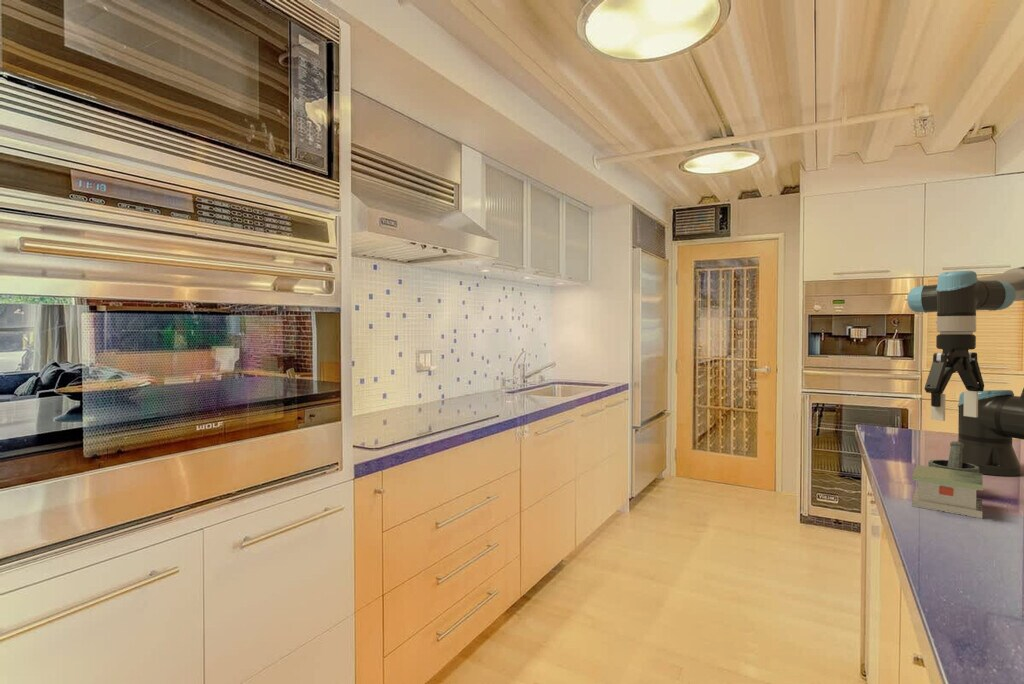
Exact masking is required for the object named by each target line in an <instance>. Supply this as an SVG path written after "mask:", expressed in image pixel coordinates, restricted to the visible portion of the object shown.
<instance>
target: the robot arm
mask: <svg viewBox="0 0 1024 684" xmlns="http://www.w3.org/2000/svg"><path fill="white" fill-rule="evenodd" d="M936 283H937V284H930V285H927V284H925V285H920V286H915V287H912V288H911V289H910V290H909V292H908V295H907V304H908V308H909V309H910V310H912V311H913V312H914V313H915V312H916V313H925V314H927V313H936V320H935V324H936V331H937V333H939V334H937V335H935V336H936V338H935V339H936V341H935V343H936V346H935V348H937V349H938V350H941V351H942V352H934V353H933V356H932V363H931V367H930V370H929V373H928V375H927V378H926V382H925V384H924V385H925V386H924V391H925V392H926V393H928V394H930V420H934V421H940V422H945V421H946V394H945V393H944V391H945V389H946V387H947V385H948V384H949V381H950V380H951V378H952V376H953V374H954V373H956V372H957V373H958V375H959V378H960V379H961V381H962V384H963V385H964V387H965V390H963V391H962V392H961V393H960V394H959V398H958V405H957V407H958V421H957V422H958V425H957V426H958V431H957V432H958V435H957V436H958V439H957V442H961V443H963V444H964V448H963V452H962V462H964V463H969V464H973V465H976V466H978V467H979V473H981V474H982V475H983V474H984V475H989V476H1000V477H1001V476H1002V477H1006V476H1007V477H1010V476H1011V477H1014V476H1019V475H1021V463H1020V461H1019V459H1018V457H1017V454H1016V451H1015V449H1014V446H1013V439H1018V440H1024V387H1023V389H1022V391H1021V394H1020V395H1019V396H1018V395H1015V394H1014V391H1013V390H1012V389H999V390H998V389H992V390H985V384H984V380H983V376H982V372H981V369H980V365H979V361H978V353H977V352H974V351H973V352H972V351H971V350H975V349H976V347H977V336H976V335H975V334H974V333H976V332H977V311H989V312H991V311H1002V310H1004V309H1007V308H1009V307H1010V306H1012V305H1013V304H1014V302H1020V301H1024V266H1020V267H1016V268H1011V269H1008V270H1006V271H1004V272H1003V273H999V274H993V275H987V276H986V275H985V276H981V277H978V275H977V272H975V271H974V270H953V271H946V272H941V273H940V274H939V275H938V277H937V282H936ZM969 350H970V351H971V352H969Z"/></svg>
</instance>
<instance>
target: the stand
mask: <svg viewBox="0 0 1024 684" xmlns="http://www.w3.org/2000/svg"><path fill="white" fill-rule="evenodd" d="M911 476H912V478H911V480H912V481H916V482H917V487H916V488H915V491H914V494H913V497H912V498H911V507H914V508H919V509H920V508H921V509H926V510H931V509H932V511H937V510H940V511H939V512H942V511H945V512H944V513H948V512H951V513H950V514H954V513H956V514H955V515H959V514H961V515H960V516H965V515H967V516H966V517H971V518H977V519H983V498H982V497H977V491H982V492H983V491H984V485H983V483H984V482H983V480H984V479H983V474H981V473H973V472H966V471H958V470H951V469H943V468H936V467H929V466H928V465H919V464H917V465H915V468H914V470H913V473H912V475H911Z"/></svg>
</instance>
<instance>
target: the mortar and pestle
mask: <svg viewBox="0 0 1024 684" xmlns="http://www.w3.org/2000/svg"><path fill="white" fill-rule="evenodd" d="M949 446H950V450H949V455H948V460H947V459H930V460H929V461H928V465H927V466H929V467H936V468H943V469H951V470H958V471H966V472H973V473H979V467H978V466H976V465H973V464H969V463H964V462H962V452H963V448H964V444H963V443H961V442H958V441H955V440H954V441H950V442H949Z"/></svg>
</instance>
